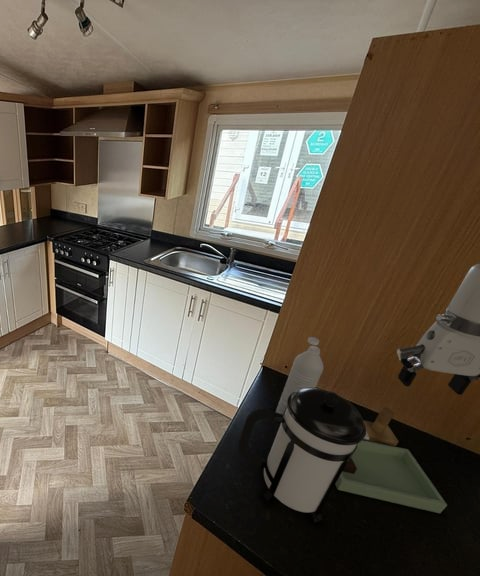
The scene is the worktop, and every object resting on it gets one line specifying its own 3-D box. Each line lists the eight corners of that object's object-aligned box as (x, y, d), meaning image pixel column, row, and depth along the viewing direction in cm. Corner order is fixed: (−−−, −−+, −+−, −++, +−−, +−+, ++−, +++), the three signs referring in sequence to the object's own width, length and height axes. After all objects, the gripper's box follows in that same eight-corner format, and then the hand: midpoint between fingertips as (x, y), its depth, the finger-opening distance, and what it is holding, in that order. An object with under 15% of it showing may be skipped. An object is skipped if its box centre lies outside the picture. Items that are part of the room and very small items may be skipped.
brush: (382, 434, 86) (399, 406, 81) (392, 450, 81) (411, 422, 76) (352, 427, 87) (366, 400, 83) (360, 443, 83) (376, 415, 78)
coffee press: (287, 450, 81) (325, 359, 68) (345, 516, 67) (407, 417, 54) (229, 466, 77) (257, 372, 64) (277, 539, 63) (326, 438, 50)
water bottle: (301, 430, 86) (331, 359, 75) (274, 421, 89) (300, 351, 78) (299, 408, 93) (328, 340, 82) (275, 400, 96) (299, 333, 85)
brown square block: (346, 459, 78) (349, 453, 77) (354, 474, 75) (357, 468, 74) (328, 455, 79) (331, 450, 78) (335, 469, 76) (338, 464, 75)
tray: (402, 457, 79) (408, 449, 78) (440, 513, 68) (447, 505, 66) (316, 439, 84) (320, 431, 82) (337, 489, 72) (342, 481, 71)
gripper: (429, 326, 62) (393, 390, 70) (541, 340, 58) (489, 406, 66) (406, 308, 69) (375, 368, 76) (505, 319, 65) (462, 381, 72)
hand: (428, 386), depth 71 cm, fingers open, 9 cm apart
